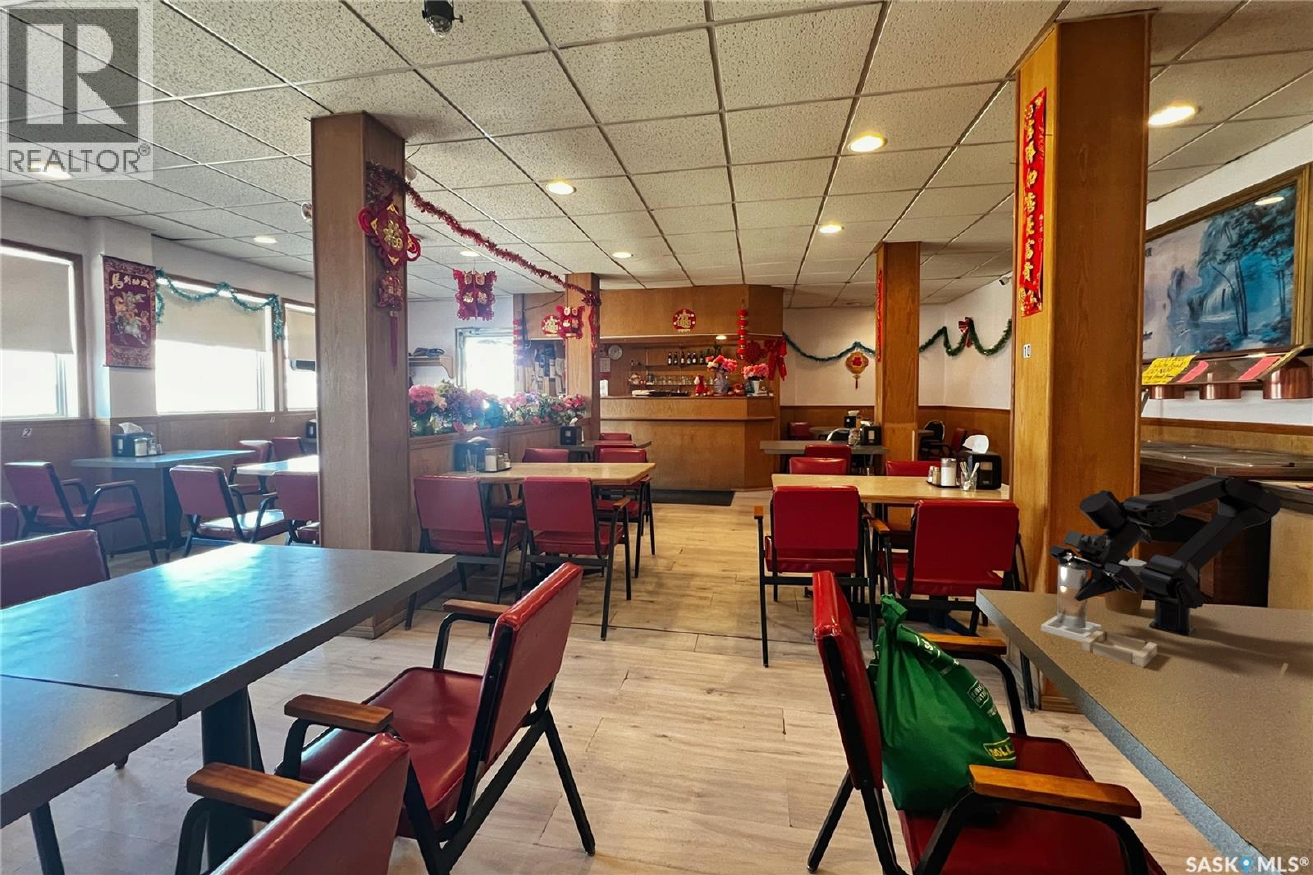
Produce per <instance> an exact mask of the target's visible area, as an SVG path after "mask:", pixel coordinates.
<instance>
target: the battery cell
mask: <svg viewBox="0 0 1313 875" xmlns="http://www.w3.org/2000/svg"><path fill="white" fill-rule="evenodd" d="M1088 571H1089V570H1088V569H1087V568H1086V567H1084V566H1080V565H1078V564H1077V563H1073V562H1068V564H1059V563H1058V565H1057V580H1058V587H1057V592H1056V593H1057V599H1056V600H1057V601H1056V602H1057V604H1056V610H1057V611H1056V612H1057V615H1056V616H1057V622H1058V623H1059V624H1061V625H1063V626H1066V627H1071V628H1079V629H1081V628H1086V627H1087V622H1088V621H1087V618H1088V599H1085V600H1082V601H1077V600H1076V599H1075V596H1076V595H1077V593H1078V592H1079V591H1080V589H1081V588H1082V587H1083V586H1084V585H1085V583H1086V582H1087V581H1088Z"/></svg>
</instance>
